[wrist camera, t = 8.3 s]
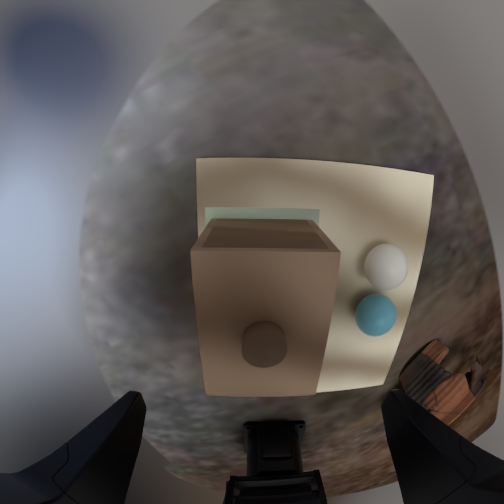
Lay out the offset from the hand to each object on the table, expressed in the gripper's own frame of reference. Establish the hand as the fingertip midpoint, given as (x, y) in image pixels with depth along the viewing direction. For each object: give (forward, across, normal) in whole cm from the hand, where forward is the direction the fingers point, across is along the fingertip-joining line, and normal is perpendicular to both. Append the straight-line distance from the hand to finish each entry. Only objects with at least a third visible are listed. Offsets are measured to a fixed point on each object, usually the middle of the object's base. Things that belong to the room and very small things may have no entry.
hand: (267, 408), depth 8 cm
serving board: (+11, -4, +2) cm, 12 cm away
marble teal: (+10, -8, +2) cm, 13 cm away
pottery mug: (+12, -18, +12) cm, 25 cm away
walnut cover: (+10, 0, 0) cm, 10 cm away
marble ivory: (+10, -8, -2) cm, 13 cm away
